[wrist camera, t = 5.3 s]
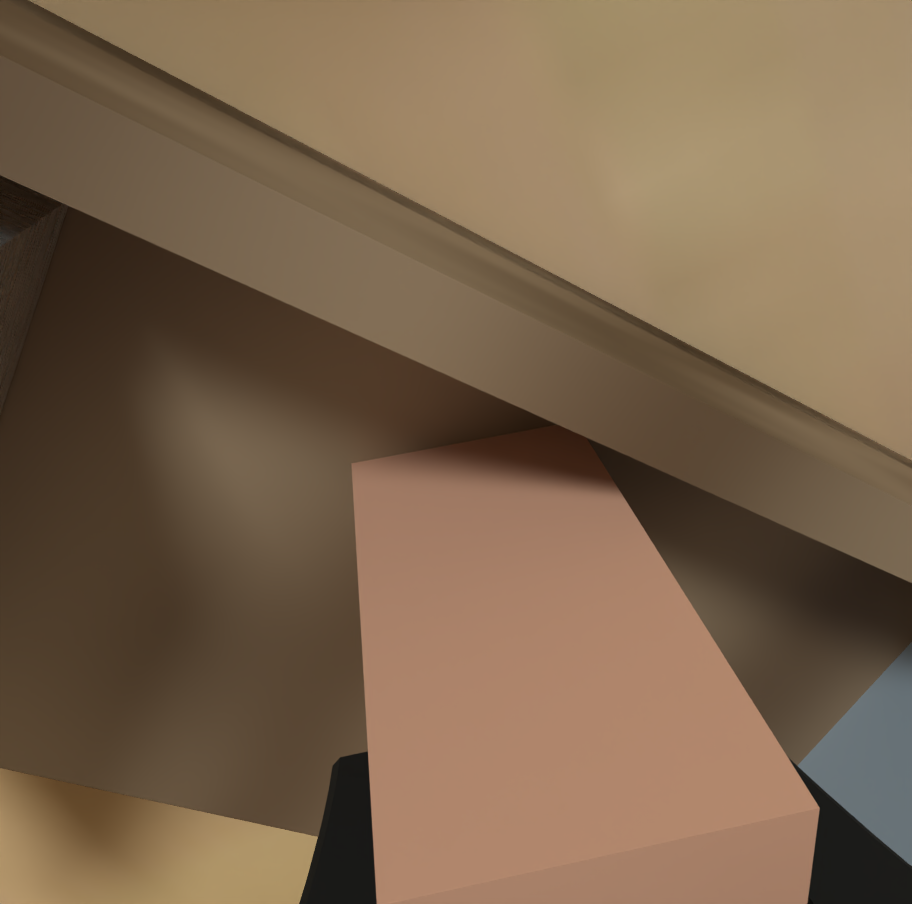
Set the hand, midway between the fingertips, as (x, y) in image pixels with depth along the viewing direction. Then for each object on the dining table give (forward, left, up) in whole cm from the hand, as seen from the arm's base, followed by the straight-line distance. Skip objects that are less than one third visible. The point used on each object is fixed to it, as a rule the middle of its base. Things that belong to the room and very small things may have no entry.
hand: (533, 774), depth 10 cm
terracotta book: (0, 0, -3) cm, 3 cm away
